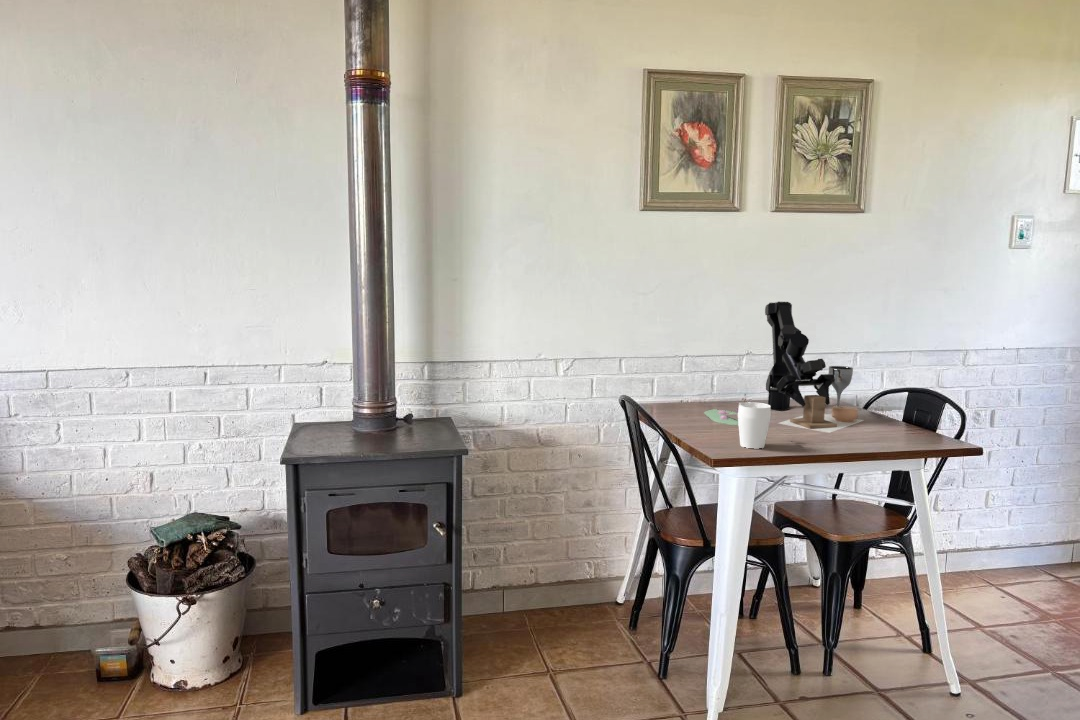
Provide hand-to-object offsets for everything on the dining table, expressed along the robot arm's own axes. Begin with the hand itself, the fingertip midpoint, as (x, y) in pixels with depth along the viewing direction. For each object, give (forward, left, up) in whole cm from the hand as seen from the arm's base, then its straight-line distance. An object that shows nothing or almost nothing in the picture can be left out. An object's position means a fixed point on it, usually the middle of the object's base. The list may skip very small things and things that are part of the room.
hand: (816, 405), depth 250 cm
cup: (-2, -36, -8) cm, 37 cm away
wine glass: (-8, +35, -8) cm, 36 cm away
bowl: (+3, +15, -6) cm, 16 cm away
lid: (-1, +1, -6) cm, 7 cm away
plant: (-26, -5, -8) cm, 28 cm away
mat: (-1, +7, -7) cm, 10 cm away
